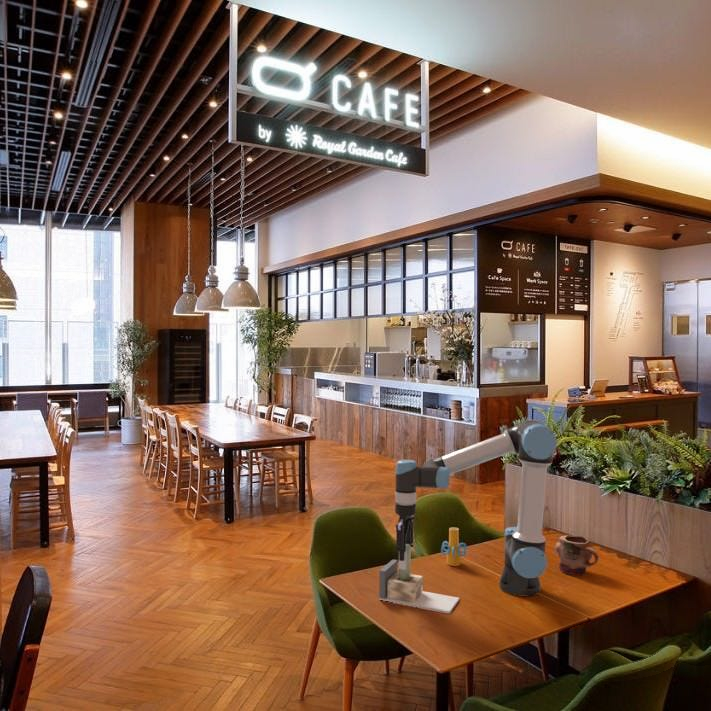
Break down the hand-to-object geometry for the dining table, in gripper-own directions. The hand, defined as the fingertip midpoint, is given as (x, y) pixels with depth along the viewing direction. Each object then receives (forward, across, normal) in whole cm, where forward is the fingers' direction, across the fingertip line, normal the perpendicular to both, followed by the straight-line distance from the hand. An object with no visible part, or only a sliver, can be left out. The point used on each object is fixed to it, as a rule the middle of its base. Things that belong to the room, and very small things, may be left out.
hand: (404, 566), depth 224 cm
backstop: (+11, 0, +6) cm, 13 cm away
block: (+11, 0, 0) cm, 11 cm away
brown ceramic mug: (+11, -54, +55) cm, 78 cm away
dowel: (+4, 0, 0) cm, 4 cm away
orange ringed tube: (+11, -42, +7) cm, 44 cm away
